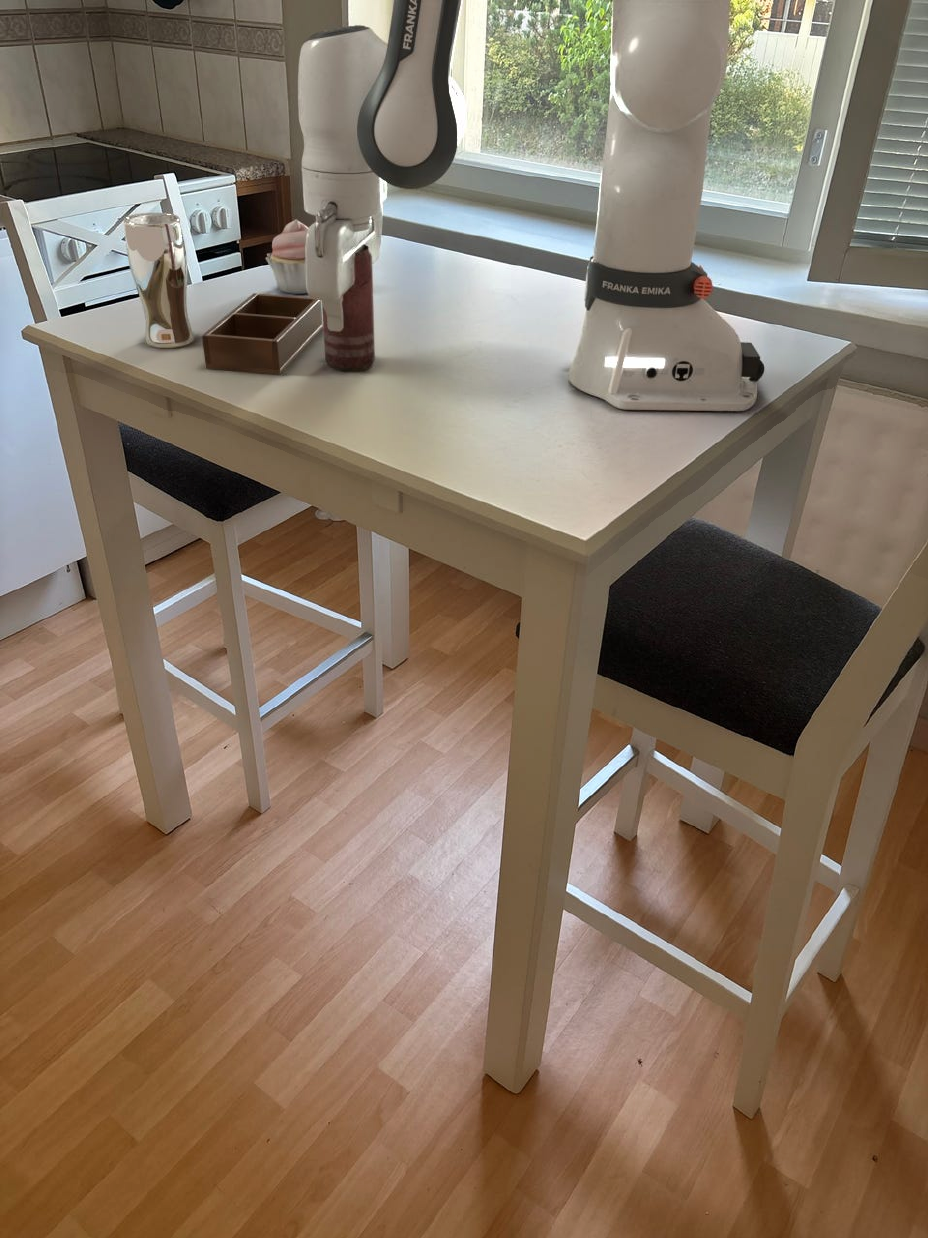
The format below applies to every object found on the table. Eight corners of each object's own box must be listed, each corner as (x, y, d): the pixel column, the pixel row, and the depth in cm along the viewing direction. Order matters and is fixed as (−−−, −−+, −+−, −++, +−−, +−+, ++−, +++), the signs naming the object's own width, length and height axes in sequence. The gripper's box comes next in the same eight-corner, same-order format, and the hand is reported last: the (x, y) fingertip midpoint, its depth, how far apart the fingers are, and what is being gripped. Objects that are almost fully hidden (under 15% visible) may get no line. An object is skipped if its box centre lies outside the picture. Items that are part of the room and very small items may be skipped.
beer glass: (183, 351, 120) (165, 226, 112) (132, 346, 121) (110, 222, 113) (206, 334, 126) (190, 214, 117) (157, 330, 127) (138, 210, 118)
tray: (322, 328, 129) (320, 298, 127) (280, 374, 115) (277, 341, 112) (256, 323, 130) (253, 292, 128) (205, 368, 116) (201, 335, 113)
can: (339, 376, 115) (333, 255, 107) (318, 359, 119) (310, 243, 111) (384, 368, 117) (381, 250, 109) (362, 352, 122) (357, 237, 114)
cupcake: (298, 301, 139) (293, 229, 133) (255, 288, 144) (249, 218, 138) (343, 288, 145) (340, 219, 140) (301, 276, 150) (296, 209, 144)
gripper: (345, 215, 98) (350, 347, 106) (390, 180, 115) (391, 296, 123) (286, 211, 99) (295, 342, 107) (339, 176, 116) (344, 292, 124)
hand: (347, 317), depth 115 cm, fingers open, 8 cm apart
